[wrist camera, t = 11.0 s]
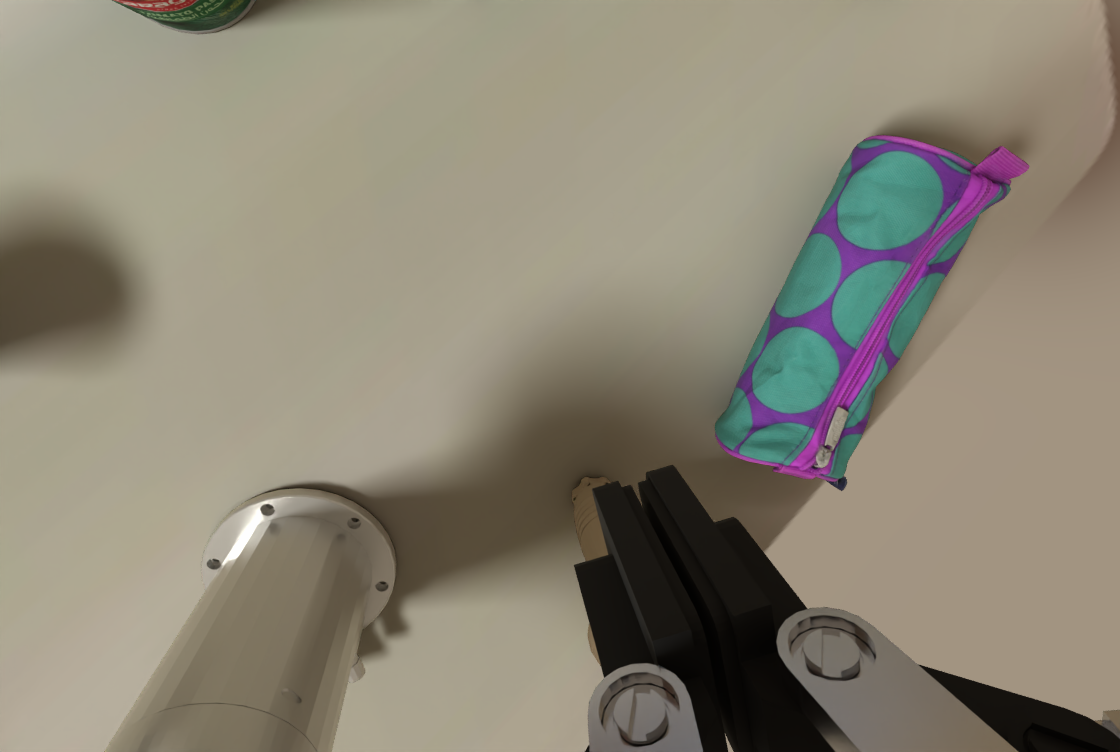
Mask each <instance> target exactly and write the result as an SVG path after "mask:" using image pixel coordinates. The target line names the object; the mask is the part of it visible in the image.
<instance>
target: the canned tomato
mask: <svg viewBox="0 0 1120 752" xmlns="http://www.w3.org/2000/svg"><path fill="white" fill-rule="evenodd" d="M112 1H114V2H116V3H118V4H121V5H122V6H124V7H126V8H128V9H131V10H133V11H135V12H136V13H139V14H141V15H143V16H145V17H146V18H148V19H150V20H152V21H154V22H156V23H158V24H159V25H161V26H163V27H166V28H169V29H173V30H176V31H179V32H184V33H193V34H204V33H214V32H217V31H220V30H223V29H226V28H228V27H230V26H231V25H233V24H235V23H236V22H238V21H239V20H241V19H242V18H243V17H244V16H245V14H246V13H247V12H248V11H249V10H250V9H251V8H252V6H253V4H254V3H255V1H256V0H112Z"/></svg>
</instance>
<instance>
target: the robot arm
mask: <svg viewBox="0 0 1120 752" xmlns="http://www.w3.org/2000/svg"><path fill="white" fill-rule="evenodd" d="M638 487H639V492H640V497H641V501H642V506H643V507H642V506H641V504H640V502H639V500H638V498H637V496H636V494H635V492H634V490H633V488H632V486H631V485H628V486H625V487H621V485H620V483H619V482H618V481H616V482H612V483H609V484H606V485H602V486H599V487H595V488H592V493H593V497H594V501H595V505H596V509H597V513H598V517H599V521H600V524H601V528H602V532H603V536H604V540H605V544H606V548H607V552H608V555H606V556H602V557H599V558H596V559H592V560H589V561H586V562H582V563H579V564H576V565H574V567H575V571H576V575H577V578H578V582H579V586H580V589H581V593H582V597H583V601H584V604H585V608H586V612H587V615H588V619H589V623H590V627H591V630H592V634H593V638H594V641H595V645H596V649H597V653H598V656H599V660H600V664H601V667H602V671H603V675H604V679H603V680H602V681H601V682H600V683H599V685H598V686H597V687H596V688H595V690H594V692H593V695H592V697H591V699H590V701H589V709H588V731H589V746H588V747H587V749H586V751H585V752H728V748H727V743H726V738H725V734H726V736H727V738H728V741H729V743H730V745H731V747H732V749H733V751H734V752H1120V710H1111V711H1103V717H1102V720H1098V721H1093V720H1092V719H1090V718H1088V717H1086V716H1083V715H1081V714H1078V713H1075V712H1073V711H1070V710H1068V709H1065V708H1062V707H1059V706H1055V705H1052V704H1049V703H1046V702H1042V701H1039V700H1035V699H1032V698H1029V697H1025V696H1022V695H1018V694H1015V693H1012V692H1009V691H1005V690H1002V689H998V688H995V687H992V686H989V685H985V684H982V683H978V682H975V681H972V680H969V679H965V678H962V677H958V676H955V675H952V674H948V673H945V672H942V671H938V670H935V669H932V668H928V667H925V666H922V665H918V664H917V663H915V662H914V661H913V660H912V659H911V658H910V657H908V656H907V655H906V654H905V653H904V652H903V651H902V650H900V649H899V648H898V647H897V646H896V645H894V644H893V643H892V642H891V641H890V640H888V638H886V637H885V636H884V635H883V634H882V633H881V632H879V631H878V630H877V629H876V628H875V627H874V626H872V625H871V624H870V623H868V622H867V621H865V620H864V619H862V618H861V617H859V616H857V615H854V614H852V613H849V612H847V611H844V610H840V609H834V608H828V607H824V608H809V609H807V608H806V606H805V605H804V604H803V602H802V601H801V600H800V599H799V597H798V596H797V595H796V593H795V592H794V591H793V590H792V588H791V587H790V586H789V584H788V583H787V582H786V581H785V579H784V578H783V577H782V576H781V574H780V573H779V572H778V570H777V569H776V568H775V566H773V564H772V563H771V561H770V560H769V559H768V557H767V556H766V555H765V554H764V552H763V551H762V550H761V549H760V547H759V546H758V545H757V543H756V542H755V541H754V540H753V538H752V537H751V536H750V534H749V533H748V532H747V531H746V529H745V528H744V527H743V525H742V524H741V523H740V522H739V521H738V520H737V519H736V518H734V517H731V518H728V519H725V520H722V521H718V522H715V523H714V522H713V520H712V519H711V518H710V516H709V515H708V513H707V512H706V511H705V509H704V508H703V506H702V505H701V503H700V502H699V501H698V499H697V498H696V496H695V495H694V493H693V492H692V491H691V489H690V488H689V486H688V485H687V483H686V482H685V481H684V479H683V478H682V476H681V475H680V474H679V472H678V471H677V469H676V468H675V467H674V466H673V465H670V466H667V467H663V468H660V469H657V470H653V471H650V472H646V480H645V481H642V482H638ZM356 518H357V519H356ZM396 563H397V562H396V556H395V551H394V547H393V545H392V542H391V540H390V537H389V535H388V534H387V532H386V531H385V529H384V528H383V526H382V525H381V524H380V522H379V521H378V520H377V519H376V518H375V517H373V516H372V515H371V514H370V513H369V512H368V511H367V510H365V509H364V508H362V507H361V506H359V505H358V504H356V503H355V502H353V501H351V500H349V499H346V498H344V497H342V496H339V495H337V494H333V493H329V492H325V491H321V490H314V489H303V488H296V489H283V490H277V491H273V492H269V493H265V494H261V495H259V496H257V497H254V498H252V499H250V500H247V501H245V502H244V503H242V504H241V505H239V506H238V507H237V508H235V509H234V510H232V511H231V512H230V513H229V514H228V515H227V516H226V517H225V518H224V519H223V520H222V521H221V522H220V523H219V525H218V526H217V528H216V529H215V531H214V532H213V533H212V535H211V536H210V538H209V540H208V543H207V545H206V547H205V549H204V552H203V557H202V561H201V573H202V582H203V585H204V588H205V592H204V594H203V596H202V597H201V599H200V600H199V602H198V603H197V605H196V607H195V608H194V610H193V611H192V613H191V615H190V616H189V618H188V619H187V621H186V623H185V624H184V626H183V627H182V629H181V630H180V632H179V634H178V635H177V637H176V638H175V640H174V642H173V643H172V645H171V646H170V648H169V650H168V651H167V653H166V654H165V656H164V657H163V659H162V661H161V662H160V664H159V665H158V667H157V669H156V670H155V672H154V673H153V675H152V677H151V678H150V680H149V681H148V683H147V684H146V686H145V688H144V689H143V691H142V692H141V694H140V696H139V697H138V699H137V700H136V702H135V704H134V705H133V707H132V708H131V710H130V711H129V713H128V715H127V716H126V718H125V719H124V721H123V723H122V724H121V726H120V727H119V729H118V731H117V732H116V734H115V735H114V737H113V738H112V740H111V742H110V743H109V745H108V746H107V748H106V750H105V751H104V752H332V748H333V743H334V739H335V735H336V731H337V727H338V722H339V718H340V714H341V710H342V705H343V701H344V697H345V693H346V688H347V684H348V682H349V683H354V682H356V681H358V680H360V679H361V678H362V677H363V676H364V673H365V668H364V665H363V663H362V661H361V659H360V657H359V656H358V655H357V651H358V646H359V642H360V638H361V633H362V629H364V628H365V627H367V626H368V625H369V624H370V623H371V622H372V621H373V620H374V619H375V618H376V617H378V616H379V614H380V613H381V611H382V610H383V609H384V607H385V606H386V604H387V603H388V600H389V598H390V596H391V593H392V591H393V587H394V582H395V577H396Z"/></svg>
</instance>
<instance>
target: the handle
mask: <svg viewBox="0 0 1120 752" xmlns="http://www.w3.org/2000/svg"><path fill="white" fill-rule="evenodd" d="M609 483H611V482H610V481H609V480H608V479H607V478H605V477H600V478H588V477H585V478H583V479H582V480H581V483H580V485H579V486H578V487H577V488H575V489H573V491H572V503H574V519H575V526H576V531H577V535H578V539H579V542H580V546H581V549H582V552H583V554H584V557H585V559H586V561H589V560H592V559H596V558H599V557H602V556H606V555H608V552H607V548H606V544H605V540H604V536H603V532H602V528H601V524H600V521H599V517H598V513H597V509H596V505H595V501H594V497H593V493H592V488H595V487H599V486H602V485H606V484H609ZM588 640H589V644H590V648H591V652H592V653H593V655H594V657H595V658H596V660H597V661H598V663H599V664H600V660H599V656H598V653H597V649H596V645H595V641H594V638H593V634H592V630H591V627H590V623H589V627H588ZM600 666H601V664H600Z"/></svg>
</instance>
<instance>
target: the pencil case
mask: <svg viewBox="0 0 1120 752" xmlns="http://www.w3.org/2000/svg"><path fill="white" fill-rule="evenodd" d="M1028 169H1029V165H1028V164H1027V163H1026V162H1024V161H1023V160H1022V159H1020V158H1019V157H1017V156H1016V155H1014V154H1013V153H1011V152H1010V151H1008V150H1007V149H1006V148H1005V147H1003V146H1000V147H998V148H996V149H995V150H993V151H992V152H991V153H990V154H989V155H988V156H987V157H986V158H985V159H984V160H983V161H982V162H981V163H980V164H979V165H976V164H974V163H973V162H971V161H970V160H968V159H966V158H964V157H963V156H961V155H959V154H957V153H954V152H952V151H949V150H946V149H943V148H939V147H935V146H932V145H929V144H926V143H923V142H920V141H916V140H912V139H908V138H903V137H896V136H887V135H877V136H871V137H868V138H866V139H864V140H863V141H862V142H860V143H859V144H857V146H856V147H855V148H854V149H853V151H852V153H851V155H850V157H849V158H848V160H847V161H846V163H845V164H844V166H843V167H842V169H841V171H840V173H839V176H838V178H837V181H836V183H835V185H834V187H833V189H832V191H831V192H830V194H829V196H828V198H827V200H826V202H825V204H824V206H823V208H822V210H821V212H820V214H819V216H818V218H817V220H816V222H815V224H814V226H813V228H812V230H811V232H810V234H809V236H808V238H807V240H806V242H805V244H804V245H803V247H802V249H801V251H800V253H799V255H798V257H797V259H796V261H795V263H794V265H793V267H792V269H791V271H790V273H789V275H788V277H787V280H786V282H785V284H784V286H783V288H782V290H781V292H780V294H779V296H778V297H777V299H776V301H775V303H774V305H773V307H772V309H771V311H770V313H769V315H768V317H767V319H766V321H765V323H764V325H763V327H762V329H761V331H760V333H759V335H758V337H757V339H756V341H755V343H754V345H753V347H752V349H751V351H750V354H749V356H748V358H747V360H746V363H745V365H744V367H743V370H742V372H741V375H740V377H739V380H738V382H737V385H736V387H735V390H734V393H733V395H732V398H731V401H730V404H729V406H728V408H727V409H726V411H725V412H724V413H723V414H722V415H721V416H720V417H719V419H718V420H717V422H716V423H715V435H716V439H717V441H718V443H719V444H720V446H721V447H722V448H723V449H724V450H725V451H726V452H727V453H729V454H730V455H732V456H734V457H737V458H739V459H742V460H746V461H749V462H754V463H759V464H764V465H770V466H776V467H774V468H773V472H778V473H783V474H788V475H792V476H796V477H800V478H804V479H813V478H815V476H816V477H818V478H821V479H824V480H826V481H827V482H829V483H830V484H831V485H833V486H834V487H836V488H838V489H839V490H841V491H842V490H844V488H845V486H846V484H847V479H846V477H843V476H844V473H845V471H846V467H847V463H848V460H849V458H850V456H851V455H852V453H853V452H854V450H855V448H856V447H857V445H858V443H859V441H860V439H861V437H862V434H863V432H864V430H865V427H866V425H867V422H868V419H869V415H870V411H871V407H872V404H873V400H874V396H875V390H876V386H877V385H878V384H879V383H880V382H881V381H882V380H883V379H884V378H885V376H886V375H887V374H888V373H889V372H890V370H891V369H892V368H893V367H894V366H895V364H896V363H897V362H898V360H899V359H900V357H901V355H902V353H903V352H904V350H905V348H906V347H907V345H908V343H909V342H910V340H911V339H912V337H913V335H914V333H915V331H916V330H917V328H918V326H919V324H920V322H921V320H922V318H923V316H924V315H925V313H926V311H927V309H928V307H929V306H930V304H931V302H932V300H933V298H934V296H935V294H936V292H937V290H938V288H939V286H940V284H941V282H942V281H943V280H944V278H945V277H946V276H947V274H948V272H949V271H950V269H951V268H952V266H953V264H954V263H955V261H956V259H957V257H958V255H959V254H960V252H961V250H962V248H963V247H964V245H965V243H966V241H967V239H968V237H969V235H970V233H971V231H972V229H973V227H974V225H975V223H976V221H977V219H978V217H979V214H981V213H982V212H983V211H985V210H986V209H988V208H989V207H990V206H992V205H994V204H995V203H997V202H999V201H1001V200H1002V199H1004V198H1005V197H1006V196H1007V194H1008V193H1009V192H1010V190H1011V188H1010V184H1011V180H1009V179H1011V178H1014V177H1017V176H1020V175H1021V174H1023V173H1024V172H1026V171H1027V170H1028Z"/></svg>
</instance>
